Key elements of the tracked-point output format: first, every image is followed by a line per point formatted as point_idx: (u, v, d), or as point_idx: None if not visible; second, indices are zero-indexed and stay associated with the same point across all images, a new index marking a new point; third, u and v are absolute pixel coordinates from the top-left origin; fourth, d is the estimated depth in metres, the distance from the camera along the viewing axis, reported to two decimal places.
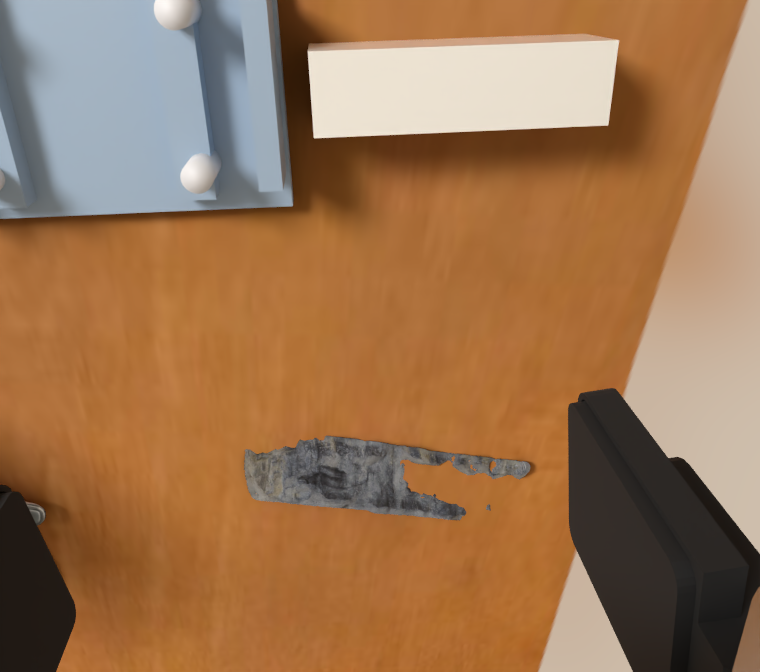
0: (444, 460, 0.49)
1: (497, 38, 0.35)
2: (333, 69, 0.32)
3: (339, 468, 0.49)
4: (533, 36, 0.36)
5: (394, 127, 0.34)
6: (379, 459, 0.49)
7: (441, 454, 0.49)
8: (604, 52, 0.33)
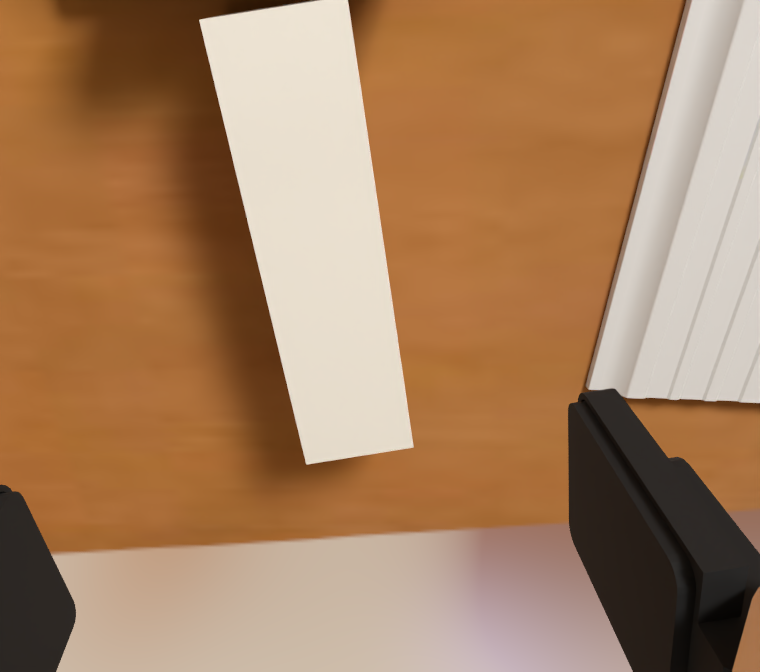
0: None
1: None
2: (324, 47, 0.19)
3: None
4: None
5: (246, 167, 0.20)
6: None
7: None
8: (397, 435, 0.25)
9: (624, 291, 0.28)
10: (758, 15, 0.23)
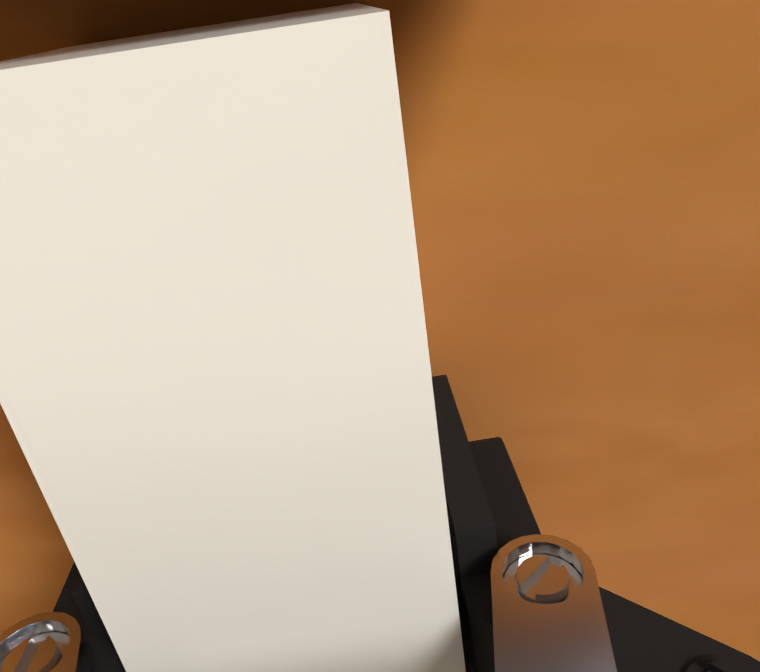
0: None
1: None
2: (308, 180, 0.06)
3: None
4: None
5: (83, 503, 0.07)
6: None
7: None
8: None
9: None
10: None
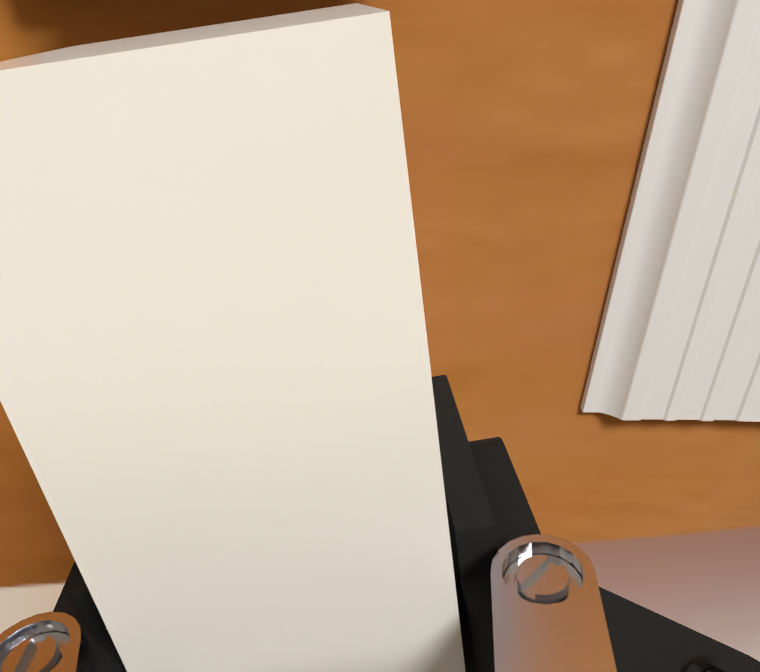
0: None
1: None
2: (309, 180, 0.06)
3: None
4: None
5: (84, 502, 0.07)
6: None
7: None
8: None
9: (617, 312, 0.27)
10: (748, 30, 0.22)
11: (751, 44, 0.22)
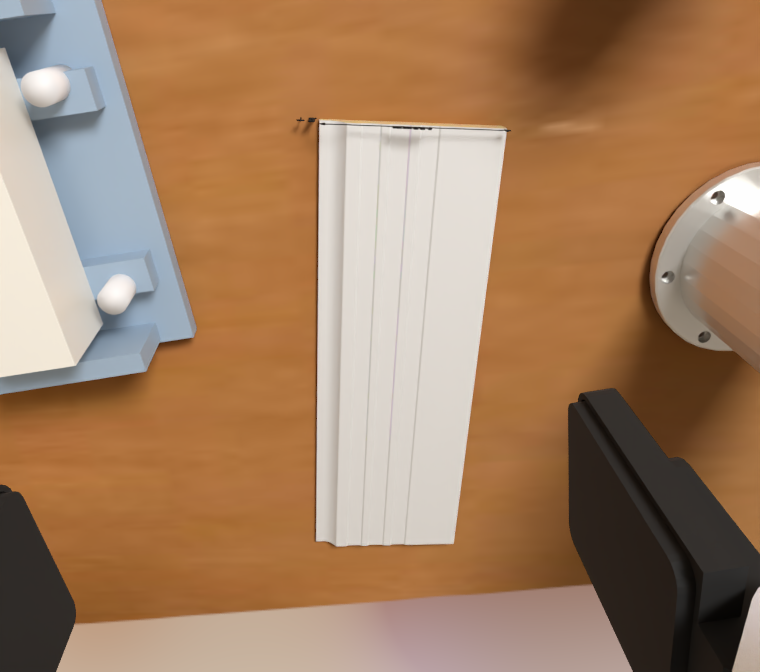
0: None
1: (65, 249, 0.36)
2: None
3: None
4: (81, 282, 0.37)
5: None
6: None
7: None
8: (61, 356, 0.35)
9: (321, 492, 0.49)
10: (349, 373, 0.44)
11: (354, 378, 0.45)
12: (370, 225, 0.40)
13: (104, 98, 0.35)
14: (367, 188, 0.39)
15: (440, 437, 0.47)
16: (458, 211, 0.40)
